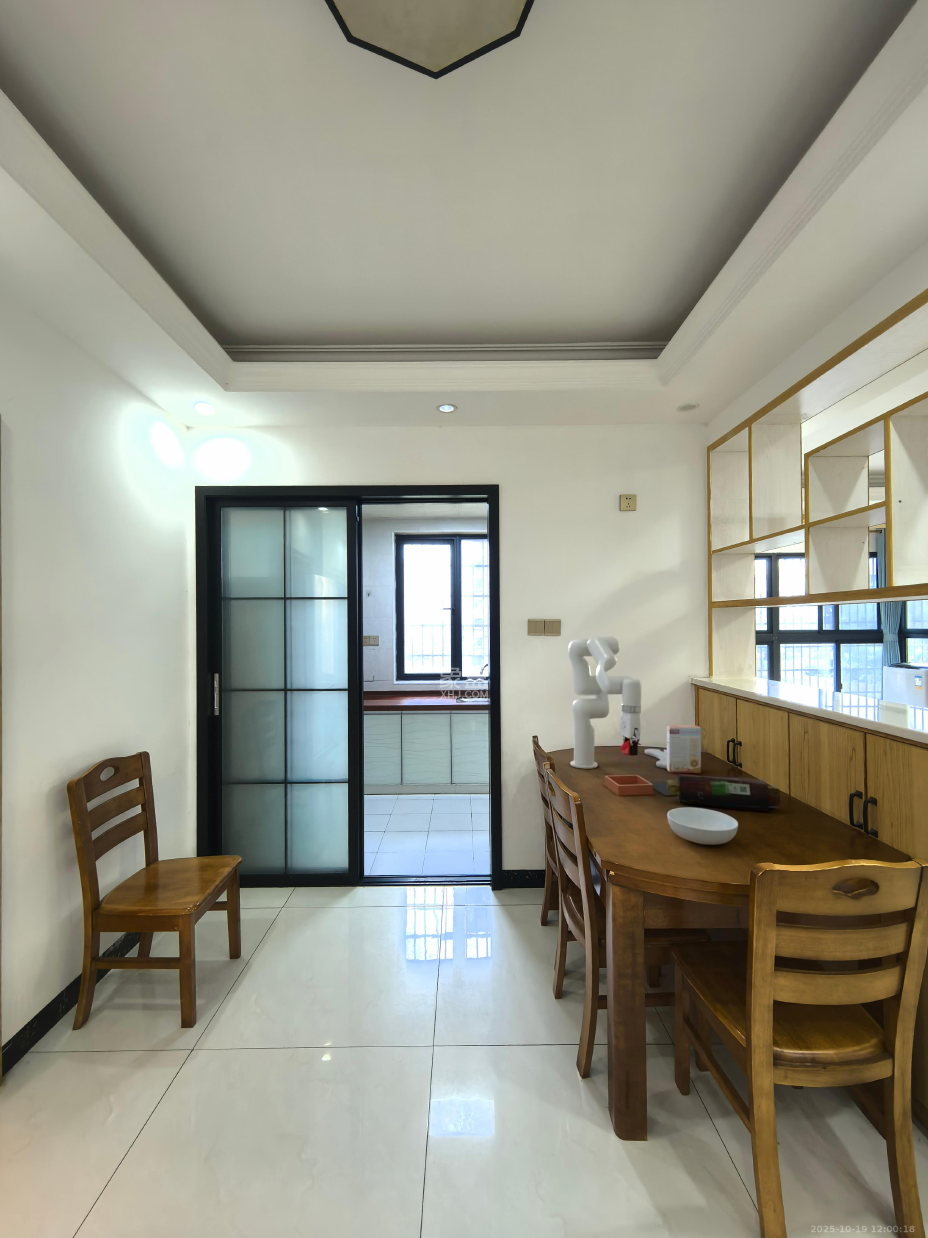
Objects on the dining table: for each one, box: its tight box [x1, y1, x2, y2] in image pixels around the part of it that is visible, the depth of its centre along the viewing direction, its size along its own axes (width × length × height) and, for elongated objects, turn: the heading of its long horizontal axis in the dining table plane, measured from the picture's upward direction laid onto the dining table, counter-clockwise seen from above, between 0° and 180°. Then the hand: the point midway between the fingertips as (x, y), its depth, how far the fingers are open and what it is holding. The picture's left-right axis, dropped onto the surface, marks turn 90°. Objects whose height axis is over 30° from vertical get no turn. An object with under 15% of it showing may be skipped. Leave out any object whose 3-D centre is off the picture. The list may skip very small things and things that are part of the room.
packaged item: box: [666, 773, 781, 813], centre depth 222 cm, size 39×10×10 cm, turn 76°
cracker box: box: [666, 724, 702, 774], centre depth 270 cm, size 14×6×21 cm, turn 84°
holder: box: [644, 748, 667, 770], centre depth 290 cm, size 19×34×5 cm, turn 175°
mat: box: [649, 781, 677, 797], centre depth 242 cm, size 18×14×1 cm
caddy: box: [603, 774, 654, 797], centre depth 241 cm, size 15×15×4 cm
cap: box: [620, 739, 642, 757], centre depth 241 cm, size 8×6×6 cm
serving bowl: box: [666, 806, 739, 846], centre depth 187 cm, size 21×21×7 cm
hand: (630, 752), depth 241 cm, fingers closed on cap, 5 cm apart
